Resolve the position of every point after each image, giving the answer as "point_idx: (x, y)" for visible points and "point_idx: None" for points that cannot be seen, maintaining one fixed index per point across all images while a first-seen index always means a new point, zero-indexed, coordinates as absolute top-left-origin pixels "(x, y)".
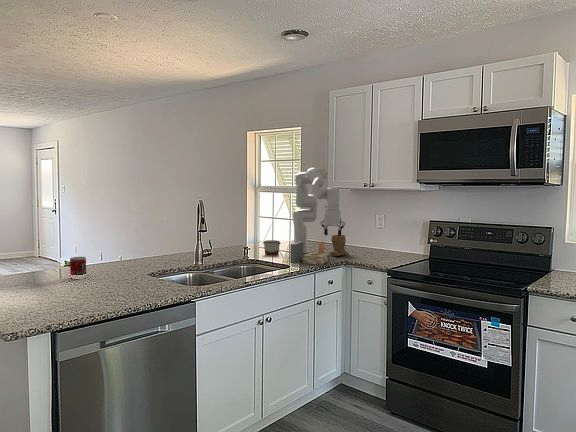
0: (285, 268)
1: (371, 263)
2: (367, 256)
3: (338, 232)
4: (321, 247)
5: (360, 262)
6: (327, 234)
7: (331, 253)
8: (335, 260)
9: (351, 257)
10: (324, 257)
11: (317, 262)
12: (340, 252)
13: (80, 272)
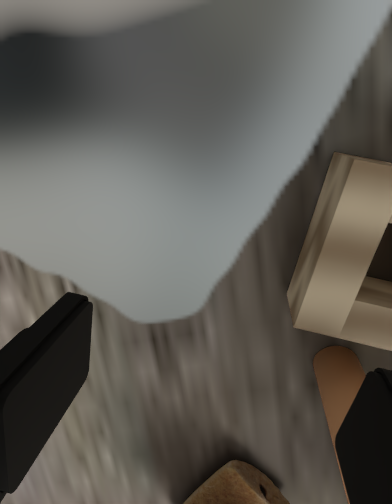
0: None
1: (3, 296)
2: (80, 479)
3: (33, 338)
4: None
5: None
6: (338, 443)
7: (275, 498)
8: (233, 357)
9: (153, 451)
10: (312, 254)
11: (369, 159)
12: (217, 497)
13: None
